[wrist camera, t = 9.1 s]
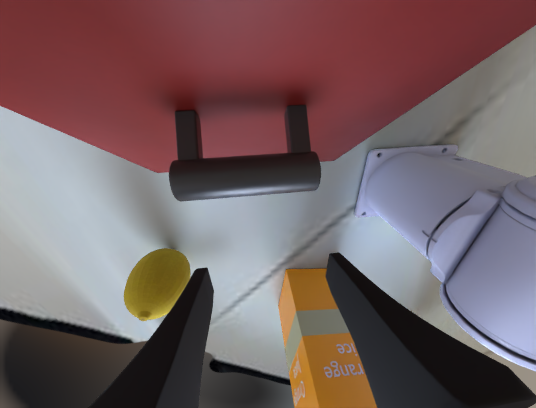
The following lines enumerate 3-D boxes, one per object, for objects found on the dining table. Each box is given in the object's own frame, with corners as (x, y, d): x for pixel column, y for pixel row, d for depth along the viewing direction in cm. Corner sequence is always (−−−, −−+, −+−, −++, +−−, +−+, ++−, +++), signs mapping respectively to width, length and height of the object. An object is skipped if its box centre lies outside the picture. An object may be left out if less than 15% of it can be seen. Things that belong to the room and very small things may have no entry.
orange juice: (337, 267, 28) (488, 552, 11) (322, 304, 32) (413, 548, 15) (284, 268, 27) (358, 588, 9) (276, 306, 31) (318, 573, 14)
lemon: (139, 237, 21) (90, 305, 15) (189, 230, 22) (164, 294, 15) (158, 270, 24) (124, 341, 17) (202, 264, 25) (186, 331, 18)
